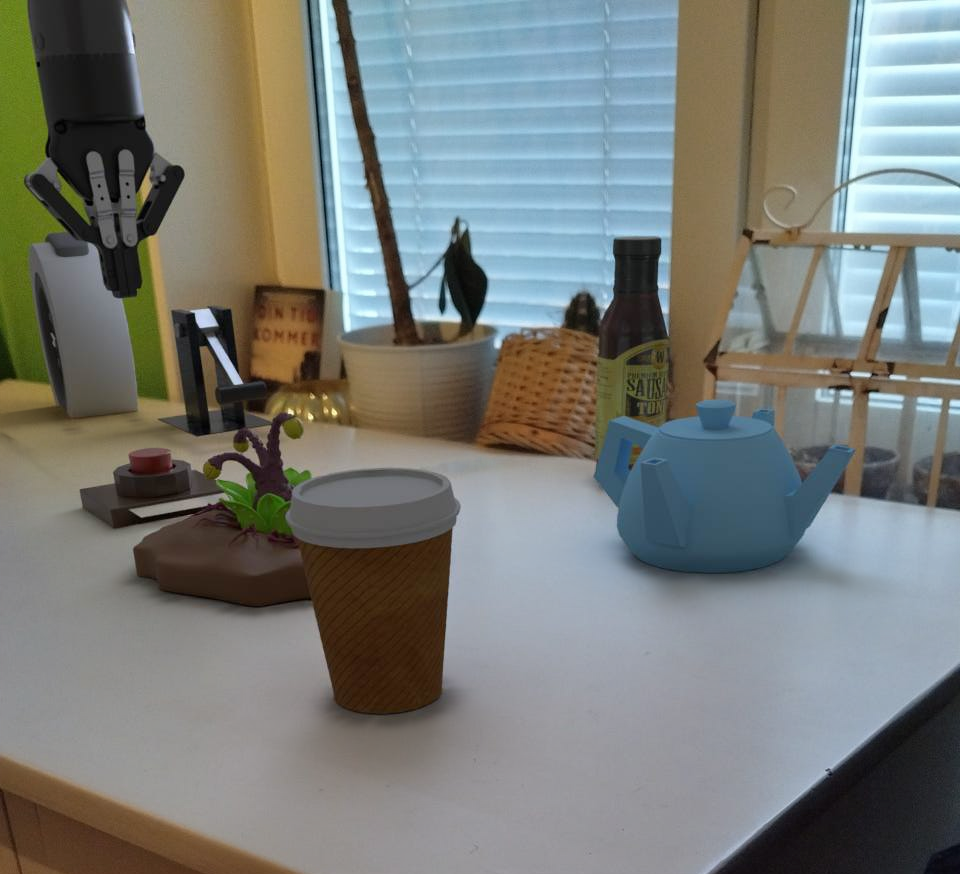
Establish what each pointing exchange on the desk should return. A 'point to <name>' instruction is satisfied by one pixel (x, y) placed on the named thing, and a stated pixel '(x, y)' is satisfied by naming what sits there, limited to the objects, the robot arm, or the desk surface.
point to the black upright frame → (193, 380)
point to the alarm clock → (81, 329)
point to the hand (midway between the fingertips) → (124, 296)
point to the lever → (225, 363)
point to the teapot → (712, 489)
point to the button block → (146, 494)
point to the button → (150, 460)
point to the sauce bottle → (632, 343)
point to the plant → (236, 532)
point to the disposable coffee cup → (378, 581)
